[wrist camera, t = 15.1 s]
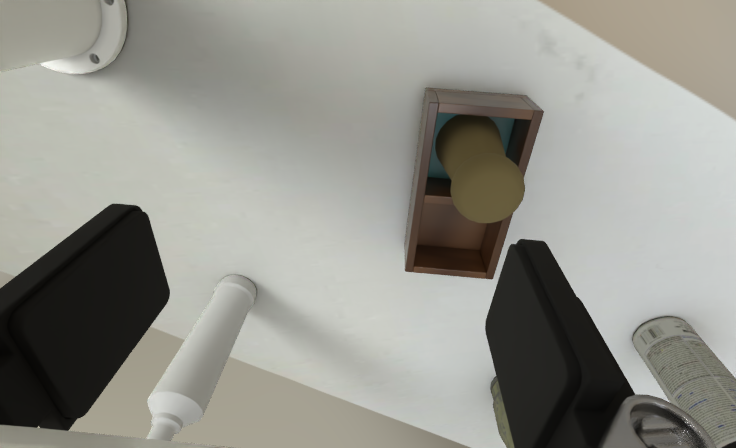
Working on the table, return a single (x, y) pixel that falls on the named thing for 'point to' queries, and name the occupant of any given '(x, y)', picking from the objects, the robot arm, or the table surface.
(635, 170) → the table surface
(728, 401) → the spray can
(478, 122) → the cork
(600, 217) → the table surface
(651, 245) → the table surface
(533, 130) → the caddy
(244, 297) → the bottle
